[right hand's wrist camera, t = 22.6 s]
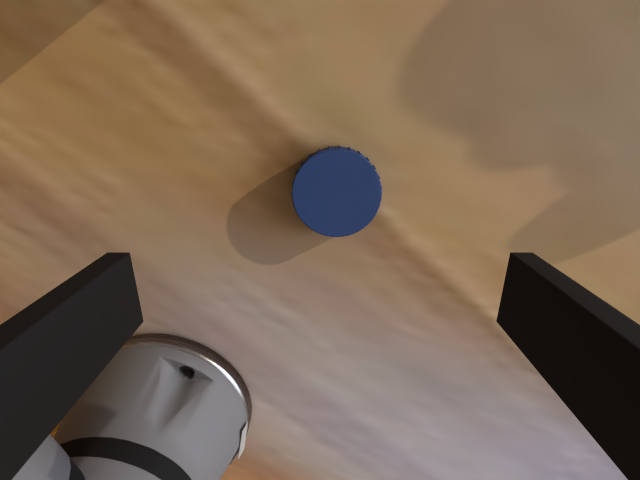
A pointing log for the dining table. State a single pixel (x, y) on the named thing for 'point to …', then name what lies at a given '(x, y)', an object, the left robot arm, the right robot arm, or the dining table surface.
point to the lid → (336, 191)
